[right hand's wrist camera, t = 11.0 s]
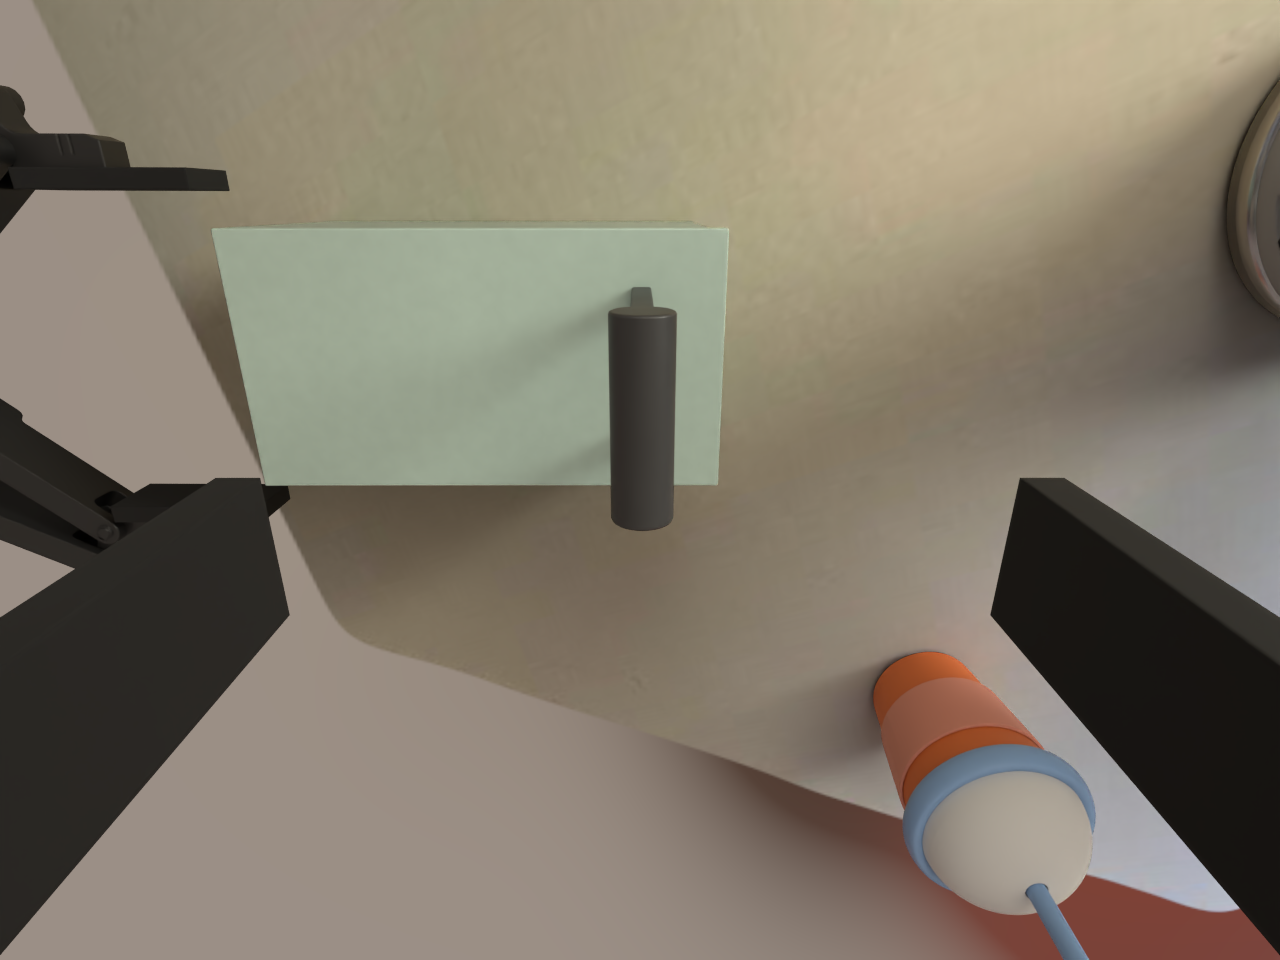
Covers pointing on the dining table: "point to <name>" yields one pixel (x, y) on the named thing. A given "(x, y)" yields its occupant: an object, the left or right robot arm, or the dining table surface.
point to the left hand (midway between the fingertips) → (245, 355)
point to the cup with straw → (983, 795)
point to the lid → (483, 357)
